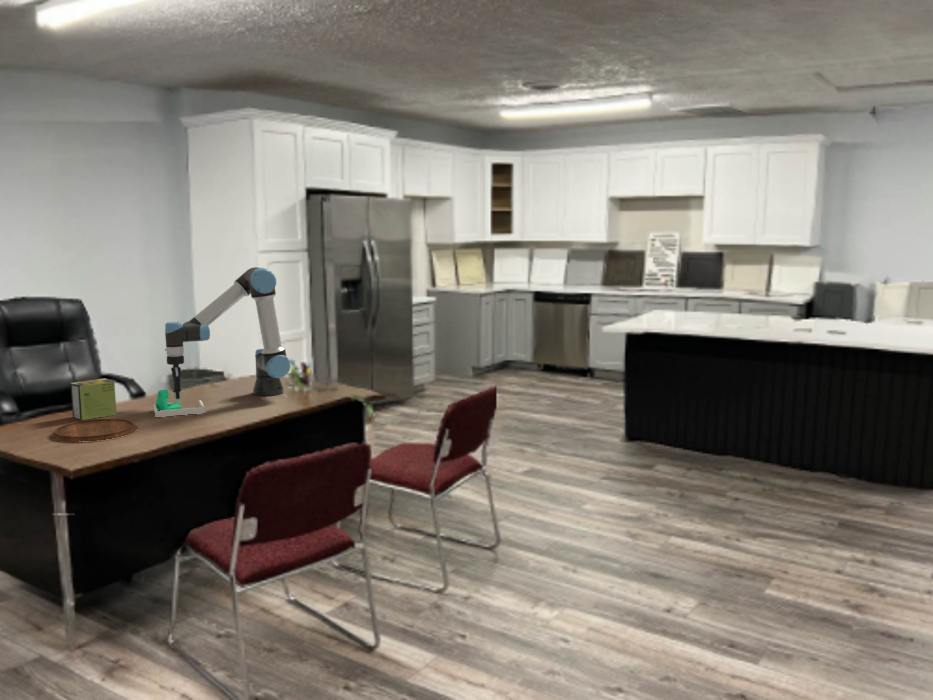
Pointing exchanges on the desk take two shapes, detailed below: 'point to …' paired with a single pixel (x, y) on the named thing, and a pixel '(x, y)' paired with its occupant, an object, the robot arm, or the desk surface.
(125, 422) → the cutting board
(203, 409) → the housing frame
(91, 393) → the protein box
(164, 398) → the camera mount
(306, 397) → the desk surface
